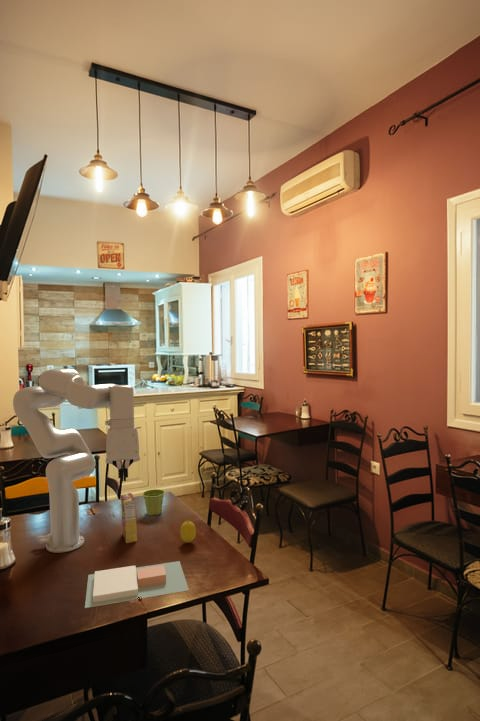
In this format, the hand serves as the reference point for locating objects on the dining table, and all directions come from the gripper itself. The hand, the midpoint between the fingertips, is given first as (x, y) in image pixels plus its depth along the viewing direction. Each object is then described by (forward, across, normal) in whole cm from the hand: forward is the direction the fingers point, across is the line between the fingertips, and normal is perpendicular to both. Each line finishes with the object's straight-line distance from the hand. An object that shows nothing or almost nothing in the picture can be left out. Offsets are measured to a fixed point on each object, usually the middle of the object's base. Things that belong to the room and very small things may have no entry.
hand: (123, 479), depth 140 cm
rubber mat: (+27, +3, -14) cm, 31 cm away
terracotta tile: (+27, +7, -14) cm, 31 cm away
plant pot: (+27, +13, +41) cm, 51 cm away
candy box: (+27, +2, +19) cm, 33 cm away
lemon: (+27, +22, +8) cm, 36 cm away
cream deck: (+27, -3, -14) cm, 30 cm away
